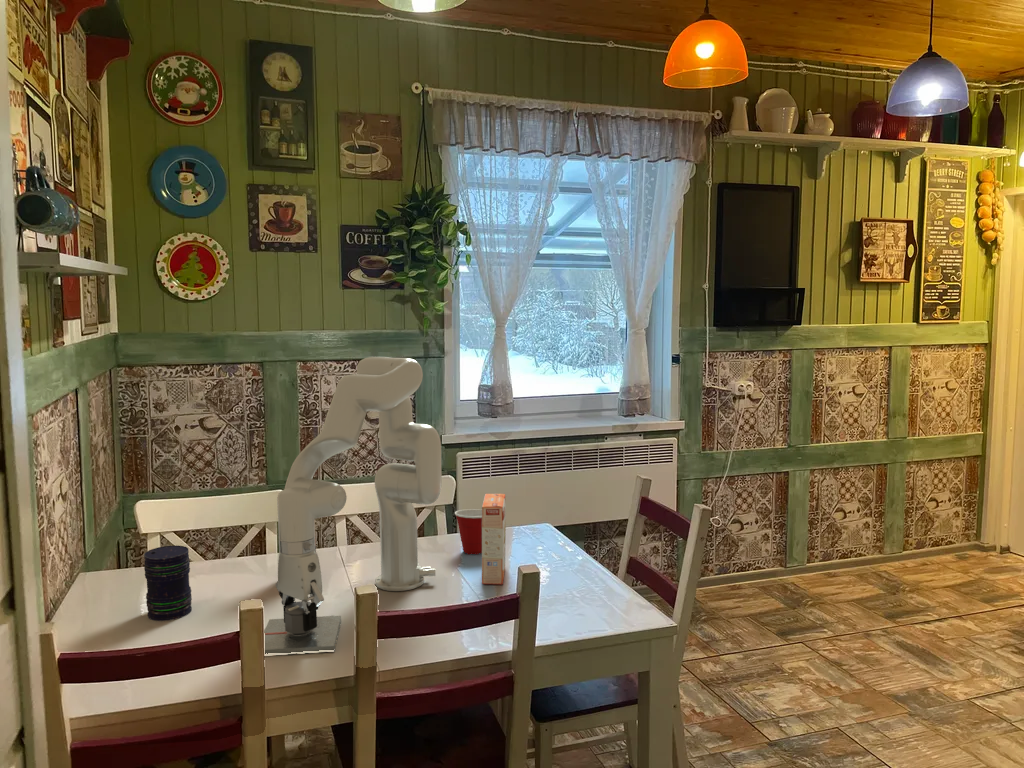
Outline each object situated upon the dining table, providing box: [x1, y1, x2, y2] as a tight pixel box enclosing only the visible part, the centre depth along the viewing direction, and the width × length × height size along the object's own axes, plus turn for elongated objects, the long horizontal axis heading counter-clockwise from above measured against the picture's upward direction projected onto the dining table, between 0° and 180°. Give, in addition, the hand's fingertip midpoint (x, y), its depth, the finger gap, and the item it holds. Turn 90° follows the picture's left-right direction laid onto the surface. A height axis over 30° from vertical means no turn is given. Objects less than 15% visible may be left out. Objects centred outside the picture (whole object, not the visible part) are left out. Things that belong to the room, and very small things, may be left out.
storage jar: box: [143, 545, 193, 622], centre depth 188 cm, size 10×10×15 cm
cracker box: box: [481, 493, 507, 585], centre depth 211 cm, size 14×6×21 cm, turn 178°
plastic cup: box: [454, 508, 482, 555], centre depth 232 cm, size 11×11×12 cm
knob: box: [285, 600, 314, 634], centre depth 173 cm, size 6×6×5 cm
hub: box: [264, 615, 342, 654], centre depth 174 cm, size 16×16×5 cm
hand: (300, 624), depth 174 cm, fingers closed on knob, 6 cm apart
